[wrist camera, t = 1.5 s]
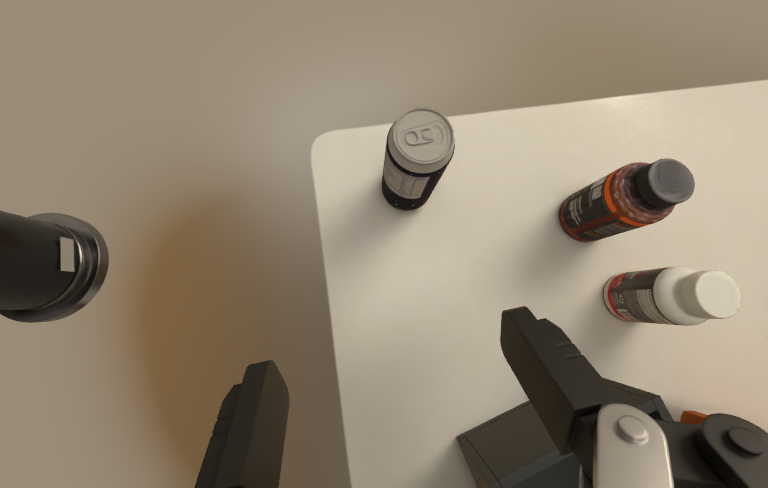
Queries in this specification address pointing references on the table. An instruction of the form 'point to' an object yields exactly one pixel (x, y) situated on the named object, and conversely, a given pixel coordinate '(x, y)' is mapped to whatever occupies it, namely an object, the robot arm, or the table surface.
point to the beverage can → (416, 157)
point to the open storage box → (535, 446)
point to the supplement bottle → (627, 199)
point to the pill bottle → (672, 296)
